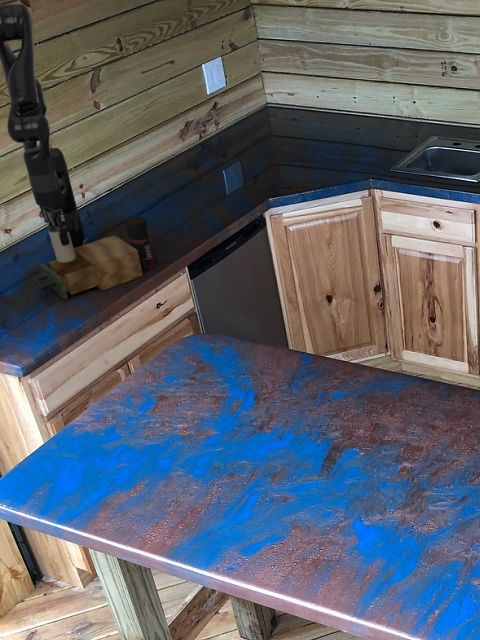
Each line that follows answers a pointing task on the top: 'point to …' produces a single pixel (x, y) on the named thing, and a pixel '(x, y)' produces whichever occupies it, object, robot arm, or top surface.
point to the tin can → (61, 247)
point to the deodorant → (140, 240)
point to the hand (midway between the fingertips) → (61, 241)
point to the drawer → (68, 276)
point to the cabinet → (111, 261)
